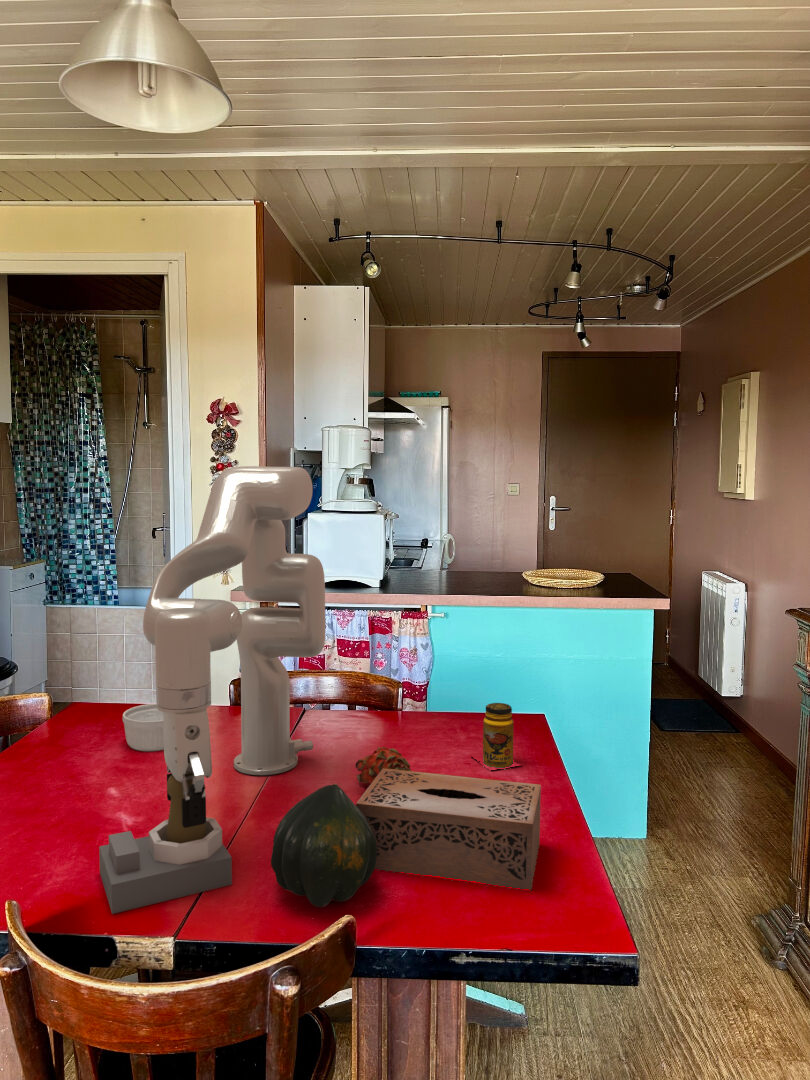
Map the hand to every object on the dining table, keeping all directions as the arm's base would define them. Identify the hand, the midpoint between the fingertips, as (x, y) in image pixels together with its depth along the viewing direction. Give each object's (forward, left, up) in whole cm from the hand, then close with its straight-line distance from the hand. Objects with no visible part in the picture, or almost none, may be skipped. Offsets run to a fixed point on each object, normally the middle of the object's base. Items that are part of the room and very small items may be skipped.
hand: (186, 811), depth 112 cm
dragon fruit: (-39, -14, -10) cm, 42 cm away
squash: (-16, +13, -10) cm, 23 cm away
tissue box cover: (-37, +13, -10) cm, 40 cm away
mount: (+3, 0, -9) cm, 10 cm away
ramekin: (-7, -59, -10) cm, 60 cm away
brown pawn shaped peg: (0, 0, -5) cm, 5 cm away
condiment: (-66, -16, -10) cm, 68 cm away
